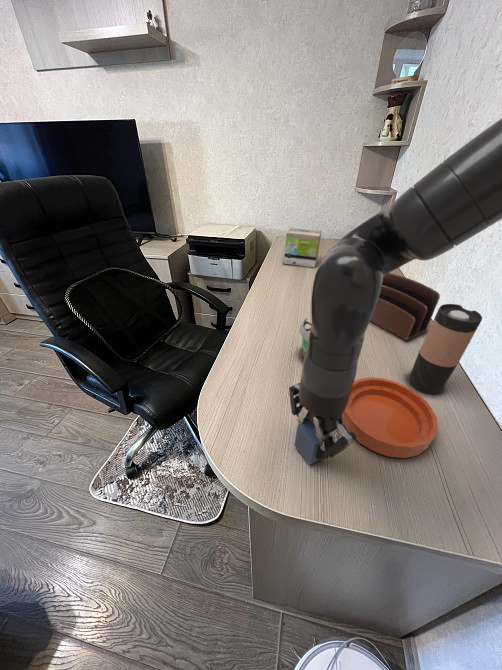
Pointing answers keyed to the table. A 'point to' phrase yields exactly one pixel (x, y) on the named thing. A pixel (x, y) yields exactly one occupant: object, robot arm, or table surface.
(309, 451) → the block
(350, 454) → the table surface
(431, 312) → the letter holder
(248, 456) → the table surface
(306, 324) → the food container
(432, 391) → the travel mug
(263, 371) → the table surface
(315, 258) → the tea box
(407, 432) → the bowl
